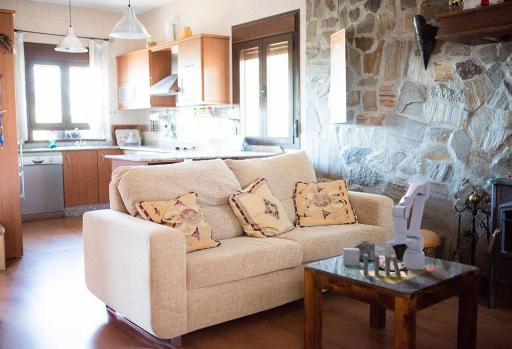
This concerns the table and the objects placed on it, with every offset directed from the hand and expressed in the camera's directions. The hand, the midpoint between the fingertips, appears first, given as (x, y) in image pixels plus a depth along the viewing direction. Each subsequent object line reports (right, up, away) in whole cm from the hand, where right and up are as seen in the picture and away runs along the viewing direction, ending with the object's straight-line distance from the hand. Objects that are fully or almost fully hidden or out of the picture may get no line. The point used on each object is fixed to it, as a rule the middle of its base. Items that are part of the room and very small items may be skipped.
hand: (399, 260), depth 243 cm
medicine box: (-19, -6, +20) cm, 28 cm away
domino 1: (-10, -7, +2) cm, 12 cm away
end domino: (-15, -7, +2) cm, 17 cm away
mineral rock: (-10, -5, +33) cm, 35 cm away
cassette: (+8, -5, +36) cm, 37 cm away
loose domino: (0, -7, +1) cm, 7 cm away
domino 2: (-5, -7, +1) cm, 9 cm away
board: (-7, -8, +3) cm, 11 cm away
